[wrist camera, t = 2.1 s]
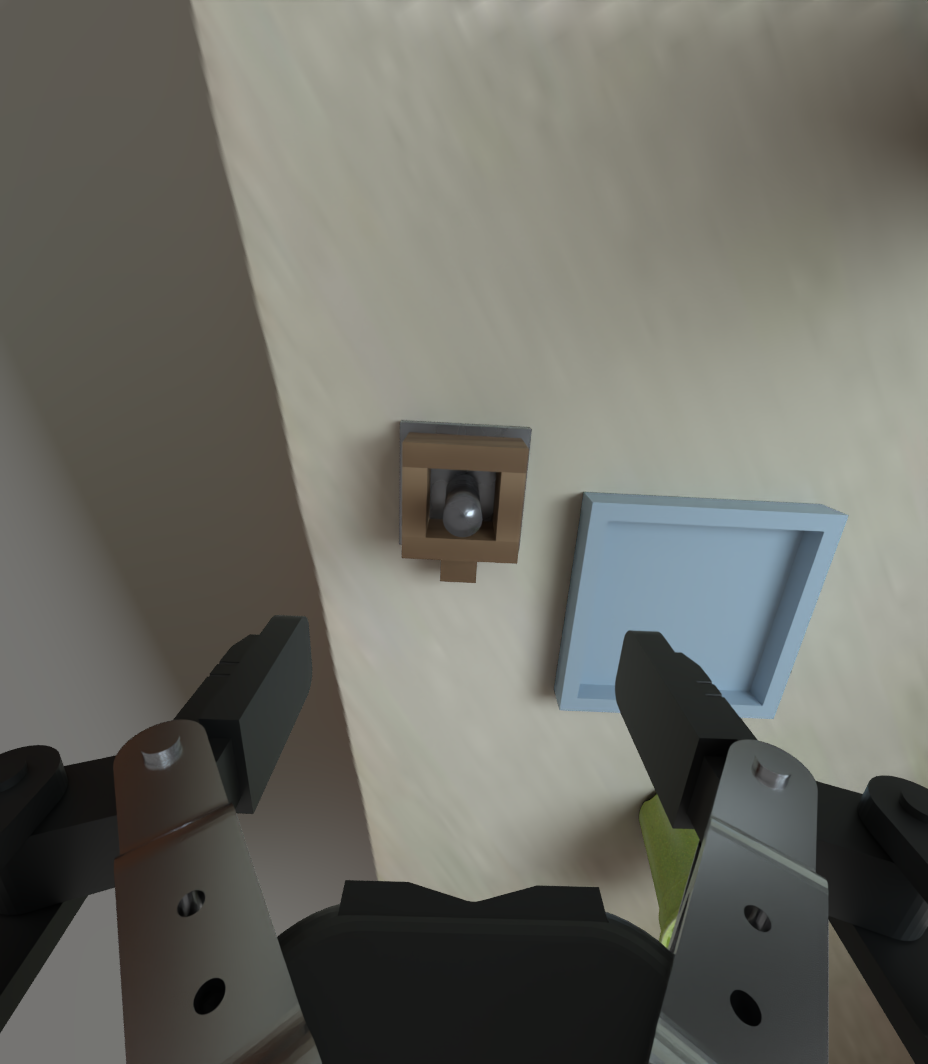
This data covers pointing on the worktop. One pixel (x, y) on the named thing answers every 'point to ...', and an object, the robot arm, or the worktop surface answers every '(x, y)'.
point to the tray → (694, 591)
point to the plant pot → (667, 861)
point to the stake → (461, 479)
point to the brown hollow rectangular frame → (430, 534)
